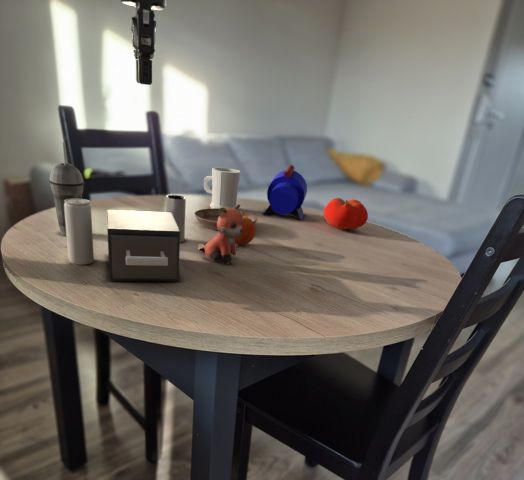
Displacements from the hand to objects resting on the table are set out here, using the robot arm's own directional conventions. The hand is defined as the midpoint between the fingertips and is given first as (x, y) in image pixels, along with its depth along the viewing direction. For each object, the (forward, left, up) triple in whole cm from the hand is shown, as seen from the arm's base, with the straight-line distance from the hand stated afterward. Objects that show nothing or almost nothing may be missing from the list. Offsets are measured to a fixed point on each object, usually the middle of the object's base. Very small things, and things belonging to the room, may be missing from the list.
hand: (143, 84), depth 85 cm
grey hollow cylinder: (+8, +17, -33) cm, 38 cm away
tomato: (+61, +35, -33) cm, 78 cm away
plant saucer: (+24, +33, -33) cm, 53 cm away
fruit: (+24, +15, -33) cm, 44 cm away
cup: (+27, +54, -33) cm, 69 cm away
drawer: (-1, -8, -32) cm, 33 cm away
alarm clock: (+47, +50, -33) cm, 77 cm away
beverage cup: (-16, +20, -33) cm, 42 cm away
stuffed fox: (+16, +4, -33) cm, 37 cm away
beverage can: (-13, 0, -33) cm, 35 cm away
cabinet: (-1, -4, -33) cm, 33 cm away
